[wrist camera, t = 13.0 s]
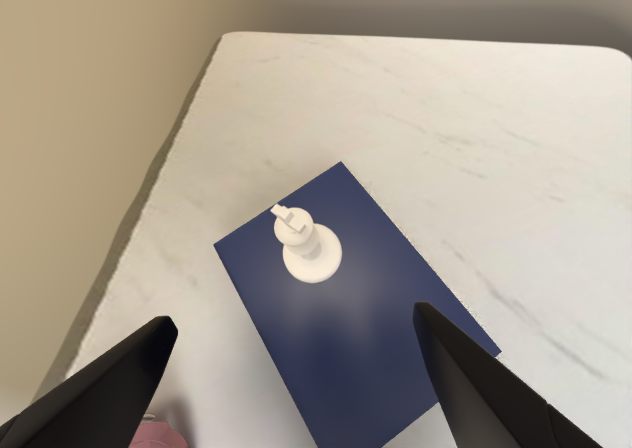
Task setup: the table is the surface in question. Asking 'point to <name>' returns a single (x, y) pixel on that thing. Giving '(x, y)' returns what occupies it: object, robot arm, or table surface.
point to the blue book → (345, 315)
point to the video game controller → (156, 435)
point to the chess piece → (306, 245)
